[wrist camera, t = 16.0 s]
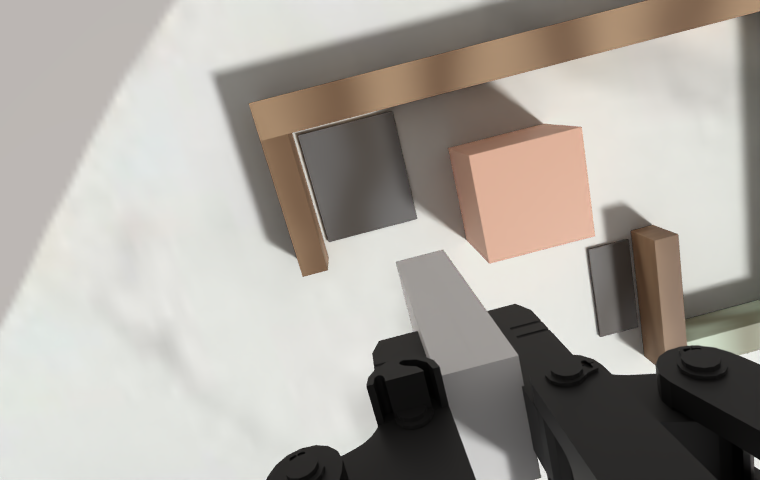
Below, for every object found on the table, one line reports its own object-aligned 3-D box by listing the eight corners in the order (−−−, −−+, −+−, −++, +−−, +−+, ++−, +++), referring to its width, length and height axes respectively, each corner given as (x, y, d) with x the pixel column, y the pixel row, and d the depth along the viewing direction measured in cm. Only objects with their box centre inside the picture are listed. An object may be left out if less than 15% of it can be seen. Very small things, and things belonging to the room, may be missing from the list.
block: (466, 239, 31) (489, 263, 27) (447, 148, 30) (468, 155, 25) (555, 216, 32) (595, 235, 27) (542, 123, 30) (581, 126, 25)
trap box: (357, 433, 34) (360, 474, 30) (256, 103, 28) (243, 103, 24) (805, 312, 35) (863, 338, 31) (804, -39, 29) (877, -61, 25)
